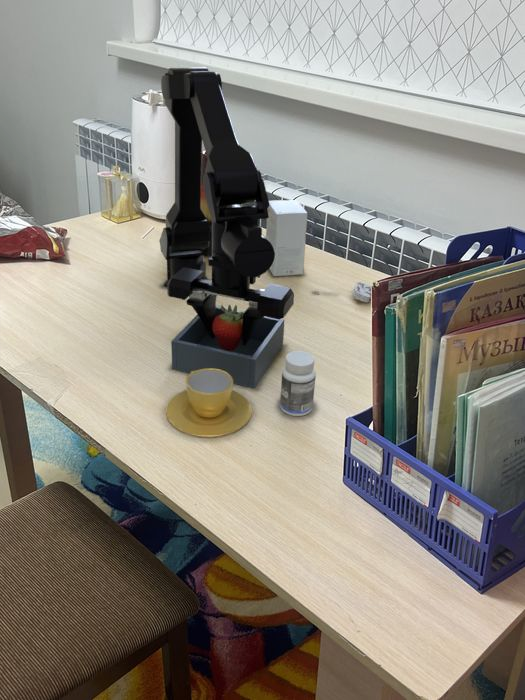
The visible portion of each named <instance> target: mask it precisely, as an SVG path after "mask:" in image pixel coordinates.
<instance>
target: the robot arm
mask: <svg viewBox="0 0 525 700" xmlns="http://www.w3.org/2000/svg"><path fill="white" fill-rule="evenodd" d="M160 84H161V85H160V87H161V94H162V98H163V99H164V105H165V106H166V109H167V111H168V112H169V113H170V115H171V117H172V119H173V121H174V203H173V204H172V206H171V207H170V209H169V210H168V212H167V213H166V215H165V227H163V229H162V231H161V235H160V237H159V247H160V252H161V254H162V256H163V258H164V259H165V260H166V278H167V279H166V281H164V282H163V287H166V289H167V291H166V292H167V296H168V297H169V298H174V299H179V300H184V301H185V300H186V305H187V306H190V307H192V309H193V310H194V312H195V313H196V315H198V316H199V317H200V319H201V321H202V322H203V324H204V326H205V328H206V330H207V332H208V333H209V335H210V337H211V338H214V337H215V335H214V333H213V330H212V324H213V320H214V319H215V317H216V306H217V305H216V303H217V298H218V296H219V297H223V298H229V299H233V300H238V301H243V302H248V307H247V308H246V310H245V311H244V313H243V328H242V341H243V345H244V346H246V344H247V343H248V341H249V338H250V336H251V334H252V331H253V329H254V326H255V324H256V322H257V320H261V319H263V318H264V316H265V317H270V318H275V319H284V318H285V317H286V315H288V313H289V311H290V310H291V308H292V307H293V306H294V303H295V293H294V291H293V290H292V288H291V287H288V286H283V285H278V284H274V283H273V284H272V283H269V284H268V285H267V286H266V287H265V288H264V289H263V288H258V289H254V288H250V285H255V284H256V281H257V278H258V279H260V278H261V276H262V275H264V274H265V273H266V272H268V271H270V269H269V268H270V267H271V266H272V264H273V261H274V257H275V252H274V249H273V246H272V244H271V243H270V242H269V240H268V239H267V238H266V235H264V234H263V229H262V227H261V226H260V225H259V220H265V219H266V220H267V219H268V210H267V209H268V207H269V205H270V204H269V201H270V200H269V197H268V193H267V189H266V183H265V180H264V178H263V176H262V173H261V171H260V170H259V169H258V167H257V165H256V163H255V160H254V158H253V156H252V154H251V153H250V152H249V151H248V150H247V149H245V148H244V147H242V146H241V145H240V144H239V141H238V139H237V136H236V133H235V130H234V126H233V124H232V121H231V116H230V114H229V111H228V108H227V105H226V101H225V98H224V94H223V83H222V77H221V73H219V72H216V71H214V70H209V69H208V67H170V68H168V70H167V72H165V73H164V75H162V76H161V83H160ZM203 147H204V151H206V154H207V158H208V160H207V165H206V169H205V173H204V176H203V188H204V193H205V197H206V201H207V204H208V208H209V211H210V215H211V218H212V231H211V228H210V224H209V222H208V220H207V218H206V217H205V215H204V213H203V212H202V210H201V167H202V152H203ZM254 203H256V204H255V205H250V204H254ZM238 204H241V205H246V206H241V207H240V206H239V205H238ZM211 244H212V257H210V256H209V255H210V252H211ZM204 257H209V258H208V261H207V263H206V260H204ZM207 264H208V267H211V280H208V276H207V266H206V265H207Z"/></svg>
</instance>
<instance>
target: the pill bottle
mask: <svg viewBox="0 0 525 700" xmlns="http://www.w3.org/2000/svg"><path fill="white" fill-rule="evenodd" d="M316 375H317V372H316V369H315V356H313V354H311V353H309V352H307V351H304V350H293V351H290V352H288V353H287V354H286V356H285V360H284V366H283V367H282V371H281V383H280V396H279V397H280V399H279V407H280V409H281V411H282V412H283V413H285V414H286V415H288V416H292V417H293V416H294V417H303V416H307V415H308V414H310V412H312V410H313V406H314V395H315V387H316V386H315V385H316V377H317V376H316Z"/></svg>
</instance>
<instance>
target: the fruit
mask: <svg viewBox="0 0 525 700" xmlns="http://www.w3.org/2000/svg"><path fill="white" fill-rule="evenodd" d="M220 307H221V309H222V311H223V312H224V314H221V315H218V316H216V317H215V319H214V320H213V324H212V330H213V333H214V335H215V337H216V339H217V341H218V343H219V344H220V346H221V347H222V348H223V349H224V350H226V351H233V350H235V349H236V348H237V346H238V345H239V342H240V340H241V338H242V328H243V319H242V318H243V313H244V312H245V311H244V310H242V311H243V312H240V313H237V314H236V312H237V310H238V305H234V308H232V305H231V304H229V305H228V306H227V308H228V311H227V310H226V309H225V308H226V307H225V306H224V305H222V304H221V305H220ZM224 307H225V308H224ZM232 309H233V312H232ZM228 312H229V313H228Z"/></svg>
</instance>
